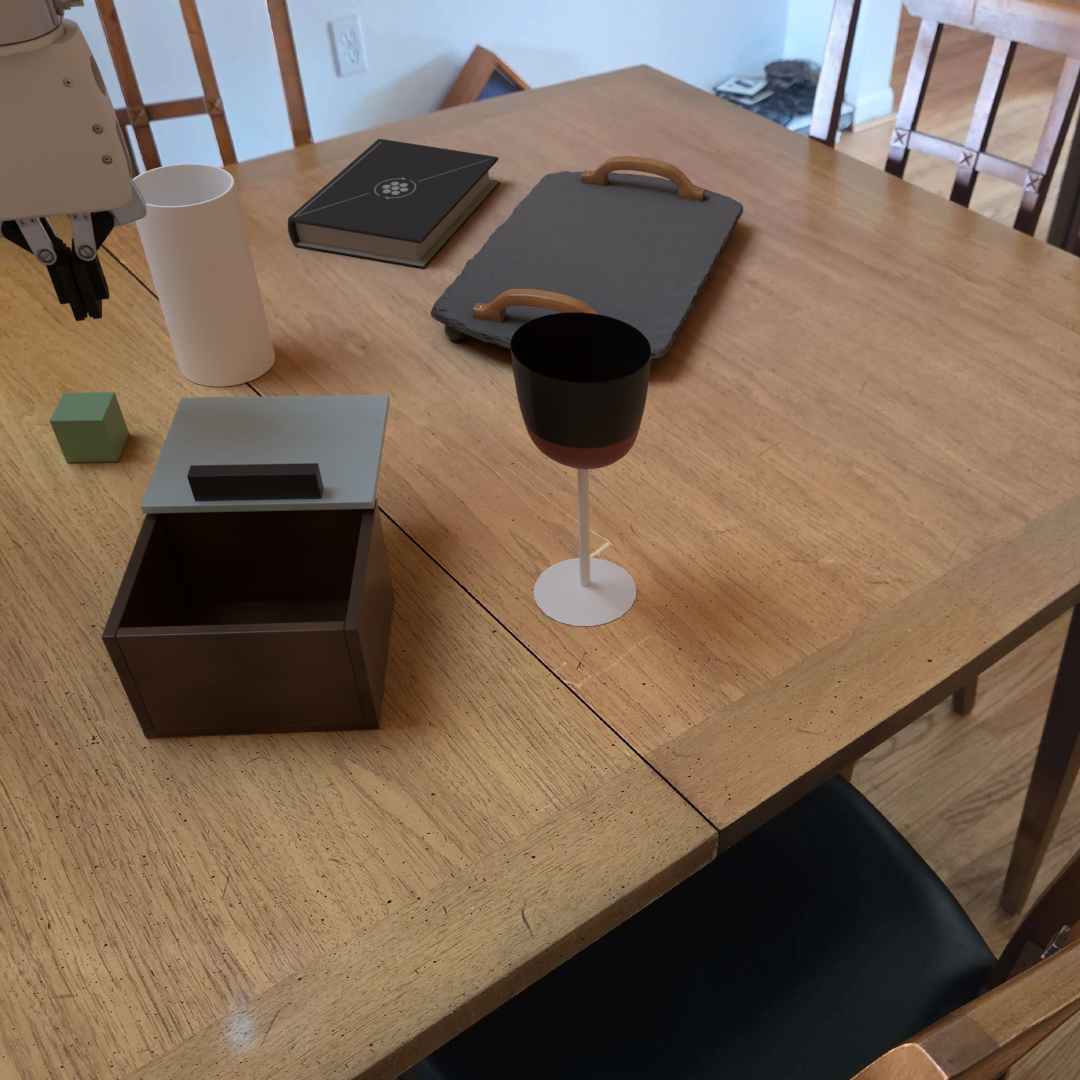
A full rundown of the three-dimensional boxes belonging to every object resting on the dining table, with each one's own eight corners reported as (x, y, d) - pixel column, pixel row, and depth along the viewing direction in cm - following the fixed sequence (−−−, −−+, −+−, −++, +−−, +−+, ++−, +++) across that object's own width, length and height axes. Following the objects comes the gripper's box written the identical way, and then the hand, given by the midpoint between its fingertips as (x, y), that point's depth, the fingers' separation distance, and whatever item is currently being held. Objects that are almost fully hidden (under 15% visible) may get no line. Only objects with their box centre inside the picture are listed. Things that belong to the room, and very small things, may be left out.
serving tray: (655, 400, 102) (657, 336, 98) (413, 354, 106) (404, 291, 102) (751, 216, 129) (756, 160, 124) (554, 185, 132) (552, 129, 128)
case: (145, 738, 73) (100, 637, 67) (185, 603, 82) (149, 502, 76) (379, 729, 75) (357, 629, 68) (394, 598, 83) (377, 498, 77)
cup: (160, 365, 103) (103, 187, 92) (233, 328, 108) (188, 154, 96) (222, 397, 100) (172, 217, 89) (294, 358, 105) (256, 182, 93)
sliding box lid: (142, 514, 74) (130, 481, 72) (183, 404, 83) (173, 372, 81) (374, 509, 76) (368, 476, 74) (390, 401, 84) (385, 370, 82)
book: (380, 164, 134) (376, 137, 132) (500, 183, 132) (498, 156, 130) (290, 246, 120) (284, 217, 117) (424, 269, 117) (420, 240, 115)
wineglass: (560, 541, 88) (551, 299, 74) (662, 578, 86) (673, 335, 72) (505, 603, 83) (484, 357, 69) (611, 644, 81) (613, 397, 67)
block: (66, 463, 93) (48, 420, 90) (79, 434, 96) (63, 392, 93) (117, 462, 93) (102, 420, 90) (129, 433, 96) (114, 391, 93)
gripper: (125, -20, 69) (203, 271, 82) (-158, -6, 65) (-29, 297, 78) (127, 21, 64) (209, 323, 77) (-179, 39, 60) (-38, 353, 73)
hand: (89, 309), depth 78 cm, fingers closed
